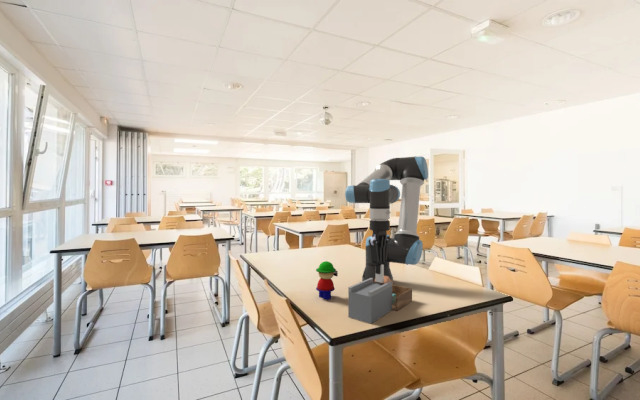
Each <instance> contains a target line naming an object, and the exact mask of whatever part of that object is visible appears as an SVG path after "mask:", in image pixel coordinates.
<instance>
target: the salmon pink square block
mask: <svg viewBox="0 0 640 400" xmlns="http://www.w3.org/2000/svg"><path fill="white" fill-rule="evenodd" d="M389 281H390V282H392V281H391V279H390V278H389V277H388V276H384V282H383V283H381V284H385V283H387V282H389ZM374 282H375V281H374ZM376 283H380V282H376ZM392 285H394V281H393V282H392Z"/></svg>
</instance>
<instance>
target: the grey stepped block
mask: <svg viewBox="0 0 640 400" xmlns="http://www.w3.org/2000/svg"><path fill="white" fill-rule="evenodd" d="M392 285H393V284H392V282H390V281H389V282H387V283H385V284H381V283H376V282H373V278H369V279H367V280H365V281H362V280H361V281H360V282H358V283H356V284H354V285H353V284H352V285H351V286H348V287H347V288H348V295H347V296H348V299H347V301H348V302H347V303H348V309H347V310H348V311H347V312H348V315H347V316H348V318H350V319H353V320H358V321H361V322H362V323H363V322H364V323H367V324H373V323H375V322H376V321H378V320H379V319H380V318H382V317H384V316H385V315H386V314H388V313H389V312H391V311H393V310H392Z"/></svg>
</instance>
